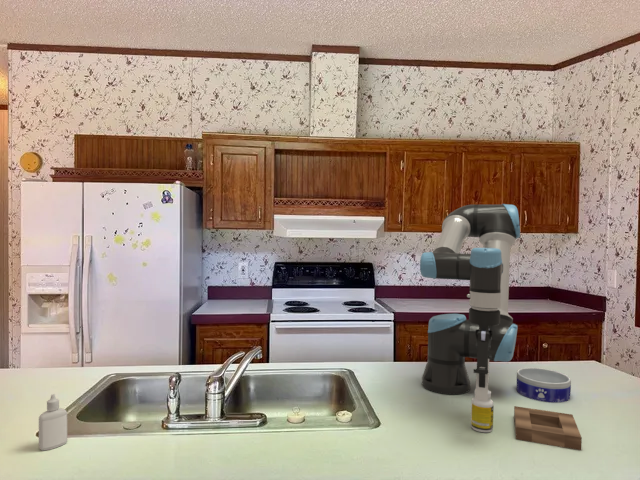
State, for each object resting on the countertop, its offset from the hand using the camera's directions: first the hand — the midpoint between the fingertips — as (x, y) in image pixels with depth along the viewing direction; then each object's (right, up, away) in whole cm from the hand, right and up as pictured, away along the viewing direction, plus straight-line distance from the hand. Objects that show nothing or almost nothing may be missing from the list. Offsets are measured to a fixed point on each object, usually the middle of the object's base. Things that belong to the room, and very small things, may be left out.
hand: (482, 390), depth 115 cm
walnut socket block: (+15, -10, -1) cm, 18 cm away
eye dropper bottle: (-104, -9, -11) cm, 105 cm away
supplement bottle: (0, -10, +1) cm, 10 cm away
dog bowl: (+28, -10, +26) cm, 40 cm away
